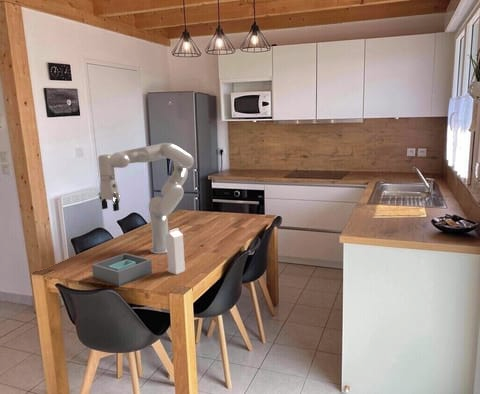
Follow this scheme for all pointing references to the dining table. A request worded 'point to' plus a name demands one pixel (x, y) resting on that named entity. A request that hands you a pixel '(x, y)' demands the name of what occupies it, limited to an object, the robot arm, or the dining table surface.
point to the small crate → (122, 265)
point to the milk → (175, 251)
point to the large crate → (125, 275)
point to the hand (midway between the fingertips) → (110, 209)
